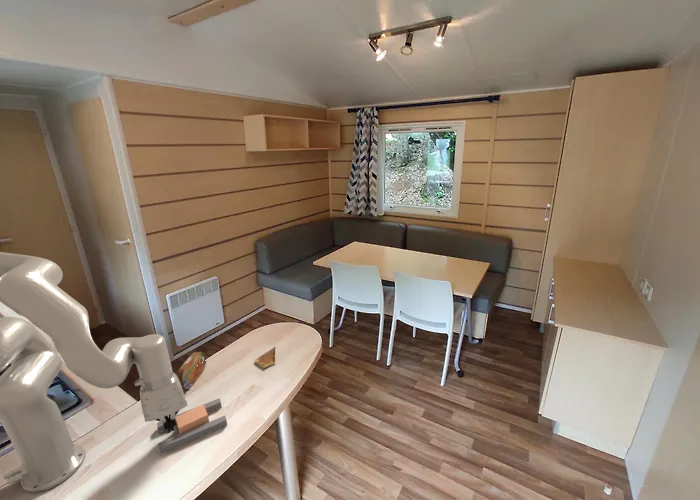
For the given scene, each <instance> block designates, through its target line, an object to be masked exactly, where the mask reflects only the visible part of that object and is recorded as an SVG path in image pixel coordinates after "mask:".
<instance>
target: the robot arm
mask: <svg viewBox="0 0 700 500" xmlns="http://www.w3.org/2000/svg"><path fill="white" fill-rule="evenodd" d="M63 276H64V274H63V271H62V268H61V267H60V266H59V265H58V264H57V263H56V262H54V261H52V260H50V259H47V258H44V257H40V256H33V255H27V254H26V255H25V254H19V253H12V252H11V253H10V252H3V251H0V303H2V304H3V305H4V306H6V307H7V308H9V309H10V310H12V311H13V312H14V313H16V314H17V315H19V316H20V317H21V318H20V317H16V316H4V317H2V316H1V317H0V373H1V372H2V371H4V370H5V371H4V372H3V373H2V374H1V375H0V423H1V425H2V427H3V429H4V430H5V432H6V435H7V437H8V438H9V439H10V442H11V444H12V446H13V448H14V451H15V452H16V455H17V456H18V458H19V461H20V463H21V464H20V465H19V466H17V467H13V468H10V469H8V470H5V471H4V472H3V479H4V480H6V481H7V483H6V484H7V485H11V484H13V483H15V482H17V481H21V487H22V489H23V490H24V491H25V492H29V493H40V492H44V491H47V490H49V489H52V488H54V487H56V486H58V485H59V484H61V483H63V482H64V481H66V480H67V479H68V478H70V477H71V476H72V475H73V474H74V473H76V471H77V470H78V469H79V468H80V467H81V465H82V463H83V462H84V460H85V457H86V451H85V448H84V447H83V446H81V444H75V443H73V440H72V438H71V436H70V433H69V430H68V428H67V425H66V422H65V421H64V418H63V416H62V413H61V411H60V409H59V407H58V404H57V403H56V402H55V400H52V399H51V398H49V396H48V395H47V392H48V390H49V388H50V387H51V385H52V383H53V382H54V380H55V379H56V377H57V376H58V374H59V372H60V370H61V369H62V367H63V364H64V365H65V366H66V368H67V369H68V370H69V371H70V372H71V373H72V374H73V375H75V376H76V377H78V378H80V379H81V380H83V381H85V382H86V383H88V384H90V385H92V386H94V387H96V388H99V389H113V388H115V387H118V386H119V385H121V384H122V383H124V381H125V380H126V379H127V378H128V374H129V373H130V370H131V368H132V365H133V364H135V365H136V368H137V372H138V375H139V376H138V377H139V378H138V379H137V380H135V381H134V386H135V387H138V386H140V389H139V399H140V405H141V409H142V414H143V418H144V422H145V423H146V422H153V421H157V422H161V423H163V425H164V429H167V430H166V431H167V433H168V434H170V433H171V432H174V431H175V427H176V426H175V425H176V420H175V416H176V415H178V414H179V412H180V411H181V410H183V409H185V408H186V407H188V402H187V400H186V397H185V392H184V389H182V386H181V383H180V381H179V379H178V377H177V373H175V372H174V371H173V367H172V362H171V358H170V354H169V350H168V347H167V342H166V339H165V337H164V336H163V335H161V334H157V333H156V334H155V333H154V334H148V335H144V336H141V337H138V336H137V337H117V338H114V339H112V340H110V341H108V342H107V343H106V345H104V347H103V349H102V350H101V349H100V348H99V347H98V345H97V344H96V342H95V341H94V340H93V337H92V335H91V330H90V319H89V318H90V317H89V312H88V310H87V308H86V307H85V306H84V305H82V304H81V303H80V302H79V301H77V300H76V299H74V298H73V297H72V296H71V295H69V294H68V293H67V292H65V291H64V290H63V289H61V288H60V287H59V286H58V285H60V283H61V281H62V280H63ZM38 329H39V330H40V331H42V332H43V333H45V334H46V335H47V336H49V338H51V341H52V343H53V344H52V343H50V341H49V340H48V339H47V338H46V337H45V336H44V335H43V334H42V333H41V332H40V331H39V330H38ZM53 345H54V346H53ZM9 365H10V366H9ZM8 366H9V367H8ZM174 426H175V427H174Z"/></svg>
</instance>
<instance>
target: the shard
mask: <svg viewBox="0 0 700 500" xmlns="http://www.w3.org/2000/svg"><path fill="white" fill-rule="evenodd" d="M253 362H254V364H257V365H258V366H260V367H261V368H262V369H265V368H266V367H267V368H268V367H270V366H275V365H276V346H273V348H271V349H269V350H268V351H266V352H265V353H263V354H261V355H260V356H259V357H257V358H256V359H254V361H253Z"/></svg>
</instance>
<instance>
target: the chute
mask: <svg viewBox="0 0 700 500" xmlns="http://www.w3.org/2000/svg"><path fill="white" fill-rule="evenodd" d="M199 406H200V405H199ZM199 406H197V407H199ZM204 407H205V409H206V412H207V414H209V413H212V412H213V411H216V410H219V409H220V408H222V402H221V397H219V398H216V399H214V400H211V401H210V402H209V401H208V402H205V403H204ZM194 408H195V407H193V408H191V409H188V410H186V411H183V412H180V413H177V415H176V416H175V417H177V416H179V415H181V414H183V413H186V412H188V411H190V410H192V409H194ZM175 420H176V418H175ZM227 426H228V421H227V418H226V415H223V416H221V417H218V418H215V419H214V420H211V421H209V422H208V423H206V424H203V425H201V426H199V427H196V428H194V429H192V430H189V431H187V432H185V433H182V434H180V433H179V434H178V435H175V436H173V437H171V438H168V439H165V440H164V441H162V442H158V444H157V445H158V452H159V455H160V456H161V455H163V454H166V453H168V452H170V451H172V450H175V449H177V448H179V447H181V446H183V445H186V444H188V443H191V442H193V441H195V440H198V439H200V438H202V437H204V436H206V435H209V434H212V433H213V432H216V431H218V430H220V429H223V428H225V427H227ZM156 427H157V432H158V434H160V433H163V432H165V431H168V430H167V429H164V425H163V423H161V422H160V421H157V422H156ZM176 427H178V426H177V422H176V425H175V426H174V428H176Z"/></svg>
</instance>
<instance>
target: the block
mask: <svg viewBox="0 0 700 500" xmlns="http://www.w3.org/2000/svg"><path fill="white" fill-rule="evenodd" d="M204 404H205V403H204ZM204 404H200V405H199V407H198V406H195V407H193V408H194V409H193V408H191V409H192V410H191V409H189V410H190V411H188V410H187V411H188V412H186V411H185V412H186V413H183V412H182V413H183V414H181V413H180V414H181V415H179V416H177V417H175V418H176V422H177V426H176V427H177V429H178V433H179V435H180V434H182V433H185V432H187V431H189V430H192V429H194V428H196V427H199V426H201V425H203V424H206V423H208V422H210V420H209V413H207V412H206V409H205V407H204Z"/></svg>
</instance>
